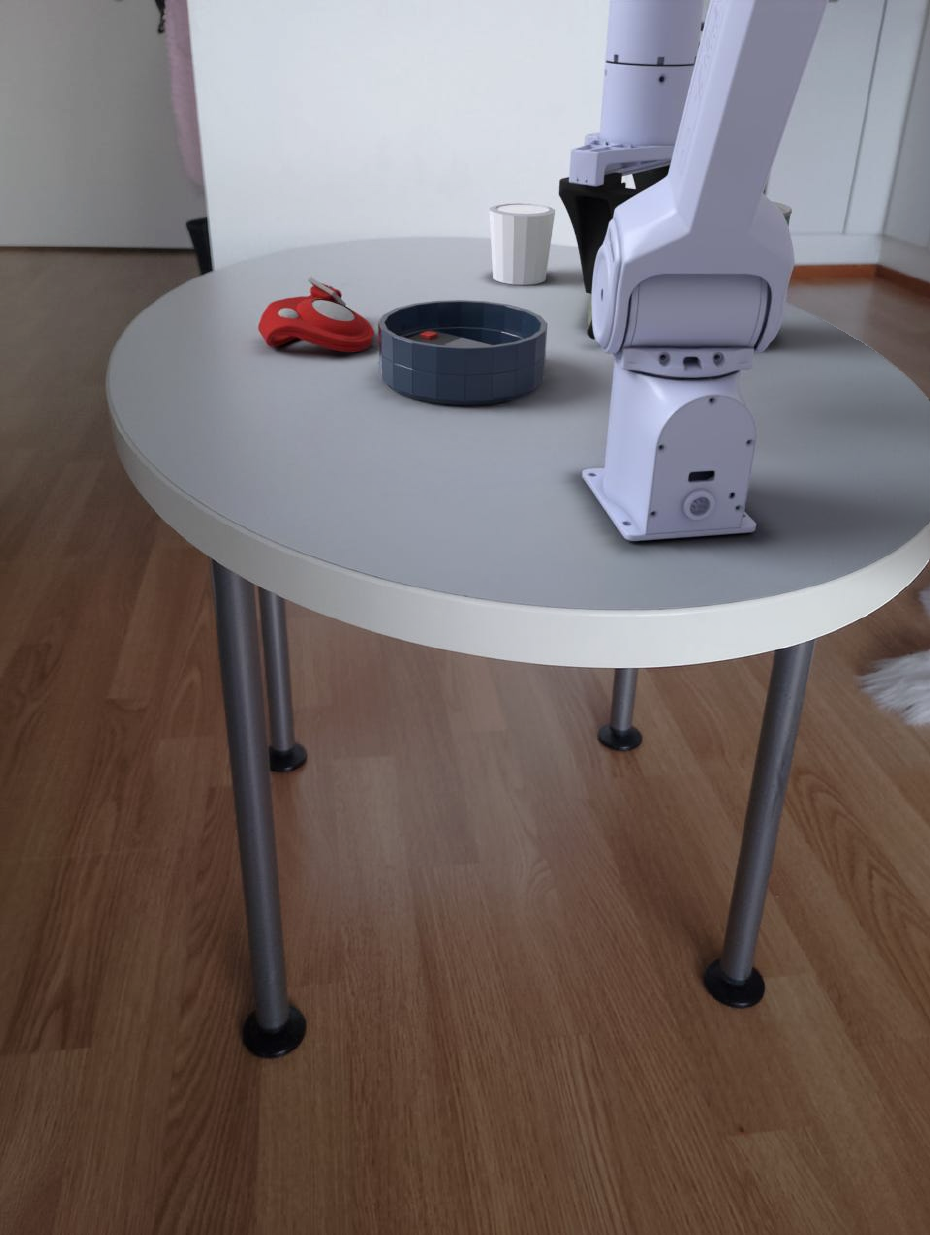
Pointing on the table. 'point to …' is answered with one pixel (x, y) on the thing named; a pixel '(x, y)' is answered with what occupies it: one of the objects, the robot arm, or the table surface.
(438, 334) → the remote
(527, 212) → the white cup
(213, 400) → the table surface
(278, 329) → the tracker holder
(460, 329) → the bowl
